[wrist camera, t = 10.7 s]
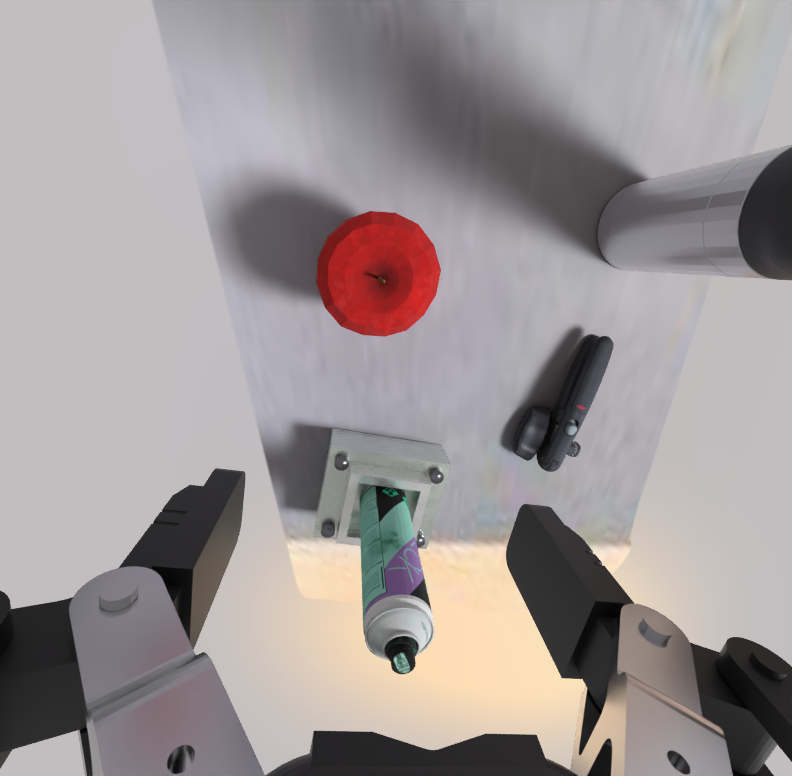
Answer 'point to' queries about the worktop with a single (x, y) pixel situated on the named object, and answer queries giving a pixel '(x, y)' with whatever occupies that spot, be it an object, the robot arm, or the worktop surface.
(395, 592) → the spray can
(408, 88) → the worktop surface
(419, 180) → the worktop surface
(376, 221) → the apple
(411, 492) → the grey square holder
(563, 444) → the can opener
